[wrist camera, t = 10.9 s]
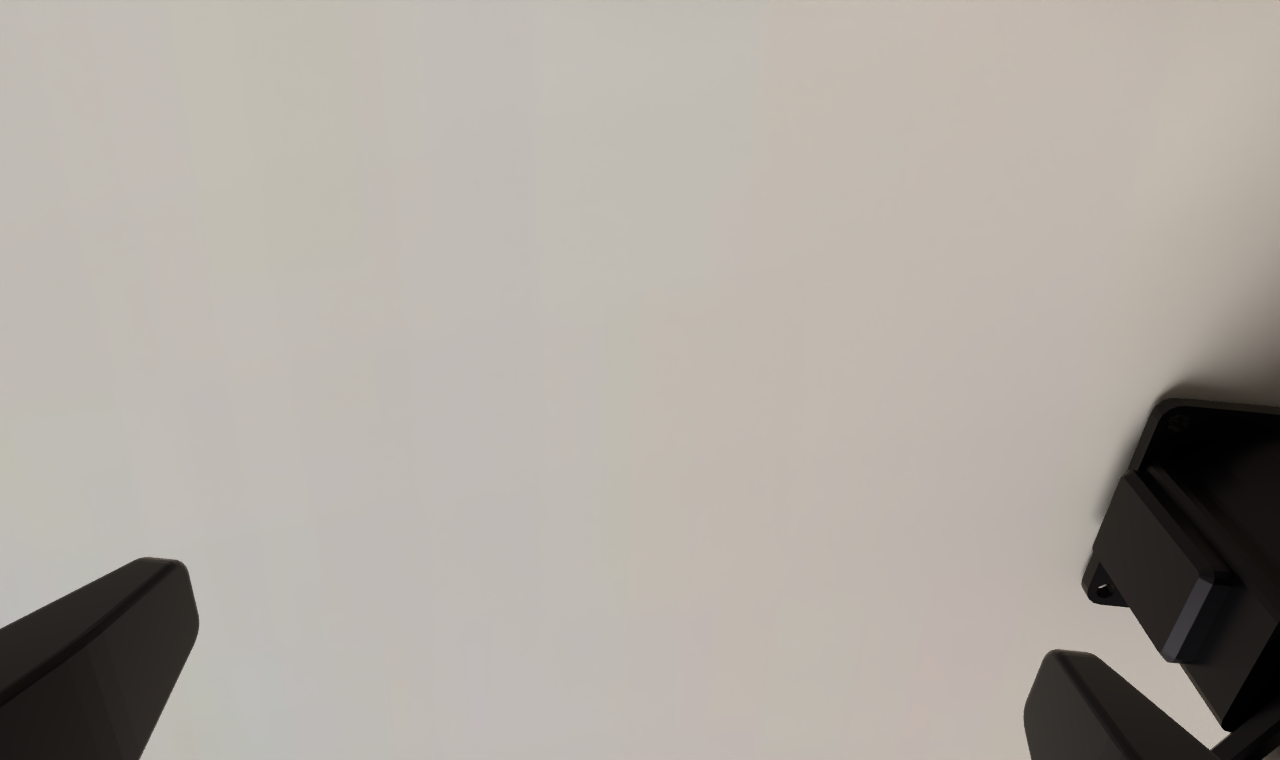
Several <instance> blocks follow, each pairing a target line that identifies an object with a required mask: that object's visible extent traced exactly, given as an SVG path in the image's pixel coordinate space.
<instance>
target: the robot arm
mask: <svg viewBox="0 0 1280 760" xmlns="http://www.w3.org/2000/svg"><path fill="white" fill-rule="evenodd" d="M1180 414H1181V417H1180V418H1179V419H1178V421H1176V422H1174V423H1171V424H1168V422H1169V420H1170V419H1171V418H1172V417H1174V416H1176V415H1180ZM1093 551H1094V552H1093V555H1092V557H1091V559H1090V562H1089V564H1088V567H1087V569H1086V572H1085V574H1084V576H1083V579H1082V584H1081V585H1082V588H1083V590H1084V592H1085V593H1086V595H1087V597H1088V598H1089V600H1091V601H1092V602H1093V603H1096V604H1100V605H1110V606H1120V607H1130V609H1131V610H1132V612H1133V613H1134V615H1135V616H1136V618H1137V620H1138V621H1139V623H1140V624H1141V626H1142V627H1143V629H1144V630H1145V632H1146V634H1147V635H1148V637H1149V638H1150V640H1151V641H1152V643H1153V644H1154V646H1155V647H1156V649H1157V651H1158V652H1159V653H1160V655H1161V656H1162V657H1163V658H1164V659H1165V660H1166V661H1167V662H1170V663H1179V664H1180V665H1181V667H1182V668H1183V670H1184V671H1185V673H1186V674H1187V676H1188V677H1189V679H1190V680H1191V682H1192V683H1193V685H1194V686H1195V688H1196V689H1197V691H1198V692H1199V694H1200V695H1201V697H1202V698H1203V700H1204V701H1205V703H1206V704H1207V706H1208V707H1209V709H1210V710H1211V712H1212V713H1213V715H1214V716H1215V718H1216V720H1217V721H1218V723H1219V724H1220V726H1221V727H1222V728H1223V729H1224V730H1225V731H1228V732H1231V733H1230V734H1229V735H1228V736H1227V737H1225V738H1224V739H1223V740H1222V741H1220V742H1219V743H1218V744H1217V745H1216V746H1214V747H1213V748H1212V749H1211V750H1209V749H1208V748H1207V747H1205V746H1204V745H1203V744H1202V743H1201V742H1199V741H1198V740H1197V739H1196V738H1195V737H1193V736H1192V735H1191V734H1190V733H1189V732H1187V731H1186V730H1185V729H1184V728H1183V727H1181V726H1180V725H1179V724H1178V723H1177V722H1175V721H1174V720H1173V719H1172V718H1171V717H1169V716H1168V715H1167V714H1166V713H1165V712H1163V711H1162V710H1161V709H1160V708H1159V707H1157V706H1156V705H1155V704H1154V703H1153V702H1151V701H1150V700H1149V699H1148V698H1147V697H1145V696H1144V695H1143V694H1142V693H1141V692H1139V691H1138V690H1137V689H1136V688H1135V687H1133V686H1132V685H1131V684H1130V683H1129V682H1127V681H1126V680H1125V679H1124V678H1123V677H1121V676H1120V675H1119V674H1118V673H1117V672H1115V671H1114V670H1113V669H1112V668H1111V667H1109V666H1108V665H1107V664H1106V663H1105V662H1103V661H1102V660H1101V659H1100V658H1098V657H1097V656H1095V655H1093V654H1091V653H1087V652H1080V651H1070V650H1060V649H1056V650H1051V651H1050V652H1048V653H1047V654H1046V655H1045V657H1044V659H1043V661H1042V664H1041V666H1040V668H1039V671H1038V673H1037V676H1036V678H1035V681H1034V683H1033V686H1032V688H1031V691H1030V693H1029V695H1028V698H1027V700H1026V704H1025V708H1024V728H1025V733H1026V737H1027V742H1028V746H1029V751H1030V755H1031V760H1280V408H1278V407H1268V406H1257V405H1246V404H1236V403H1225V402H1215V401H1204V400H1193V399H1183V398H1172V399H1168V400H1165V401H1162V402H1161V403H1159V404H1158V405H1157V406H1156V407H1155V408H1154V409H1153V411H1152V412H1151V414H1150V417H1149V419H1148V421H1147V424H1146V426H1145V429H1144V431H1143V434H1142V436H1141V438H1140V441H1139V443H1138V446H1137V448H1136V450H1135V453H1134V455H1133V458H1132V460H1131V463H1130V465H1129V467H1128V470H1127V472H1126V473H1125V474H1124V475H1123V476H1122V477H1121V479H1120V481H1119V483H1118V486H1117V488H1116V491H1115V493H1114V496H1113V498H1112V500H1111V503H1110V505H1109V508H1108V510H1107V513H1106V515H1105V518H1104V520H1103V522H1102V525H1101V527H1100V530H1099V532H1098V535H1097V537H1096V539H1095V542H1094V544H1093ZM1104 584H1107V585H1106V586H1105V587H1103V588H1099V587H1100V586H1102V585H1104ZM198 630H199V615H198V611H197V607H196V602H195V598H194V594H193V590H192V585H191V581H190V577H189V573H188V570H187V567H186V566H185V565H184V564H183V563H182V562H180V561H178V560H173V559H163V558H153V557H143V558H139V559H137V560H134V561H132V562H130V563H128V564H126V565H124V566H122V567H121V568H119V569H117V570H115V571H113V572H111V573H109V574H107V575H105V576H103V577H101V578H99V579H97V580H95V581H93V582H91V583H89V584H87V585H85V586H83V587H81V588H79V589H77V590H75V591H74V592H72V593H70V594H68V595H66V596H64V597H62V598H60V599H58V600H56V601H54V602H52V603H50V604H48V605H46V606H44V607H42V608H40V609H38V610H36V611H34V612H32V613H30V614H28V615H26V616H25V617H23V618H21V619H19V620H17V621H15V622H13V623H11V624H9V625H7V626H5V627H3V628H1V629H0V760H139V759H140V757H141V755H142V753H143V751H144V749H145V747H146V745H147V743H148V741H149V739H150V736H151V734H152V732H153V730H154V728H155V726H156V724H157V722H158V720H159V717H160V715H161V713H162V711H163V709H164V707H165V705H166V703H167V701H168V698H169V696H170V694H171V692H172V690H173V688H174V686H175V684H176V682H177V679H178V677H179V675H180V673H181V671H182V669H183V667H184V665H185V663H186V660H187V658H188V656H189V654H190V652H191V650H192V648H193V646H194V643H195V641H196V638H197V635H198Z"/></svg>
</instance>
